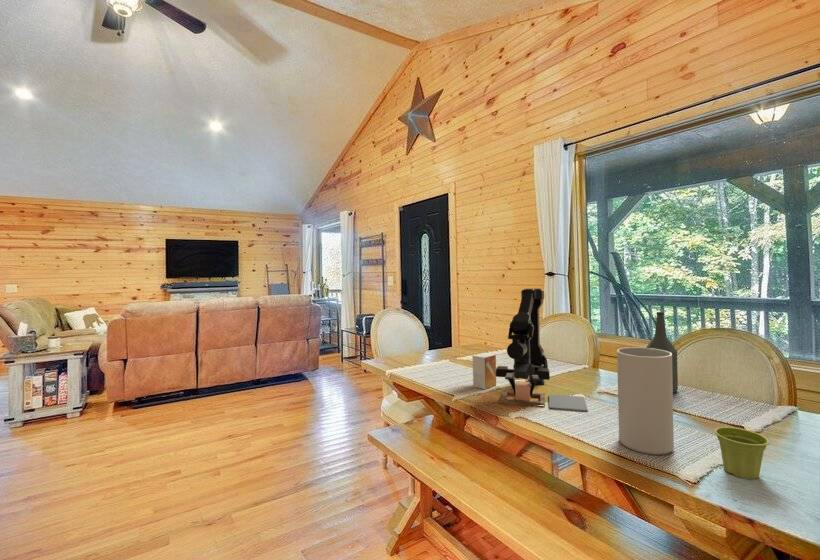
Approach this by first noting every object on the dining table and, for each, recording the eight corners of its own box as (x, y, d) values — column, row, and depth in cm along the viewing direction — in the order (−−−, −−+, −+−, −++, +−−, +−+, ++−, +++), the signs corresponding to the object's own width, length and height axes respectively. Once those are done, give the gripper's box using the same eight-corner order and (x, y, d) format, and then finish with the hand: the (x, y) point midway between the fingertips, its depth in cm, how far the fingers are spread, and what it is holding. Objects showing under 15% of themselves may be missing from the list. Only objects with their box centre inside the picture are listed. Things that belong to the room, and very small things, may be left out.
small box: (485, 389, 155) (484, 357, 155) (472, 386, 160) (471, 355, 159) (497, 385, 161) (496, 354, 160) (484, 382, 165) (483, 352, 165)
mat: (549, 395, 145) (549, 394, 145) (583, 398, 141) (583, 396, 141) (549, 408, 132) (549, 407, 132) (587, 411, 128) (587, 410, 128)
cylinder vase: (628, 431, 112) (627, 345, 112) (679, 444, 103) (678, 351, 102) (611, 445, 104) (609, 352, 103) (665, 461, 94) (663, 359, 94)
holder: (503, 393, 149) (503, 390, 149) (544, 396, 144) (544, 393, 144) (500, 403, 139) (500, 400, 139) (544, 406, 134) (544, 403, 134)
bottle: (677, 387, 150) (676, 310, 149) (678, 395, 142) (676, 313, 141) (646, 384, 156) (644, 310, 155) (645, 391, 147) (643, 312, 147)
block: (516, 397, 145) (516, 381, 145) (530, 398, 143) (530, 382, 143) (515, 401, 140) (515, 385, 140) (530, 402, 138) (529, 386, 138)
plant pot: (758, 466, 91) (758, 430, 90) (777, 487, 82) (777, 447, 82) (709, 459, 94) (709, 424, 94) (723, 479, 86) (722, 440, 86)
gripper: (493, 357, 137) (494, 400, 137) (549, 359, 131) (550, 405, 131) (497, 350, 147) (498, 391, 148) (548, 352, 141) (550, 395, 141)
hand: (523, 395), depth 142 cm, fingers closed on block, 5 cm apart
